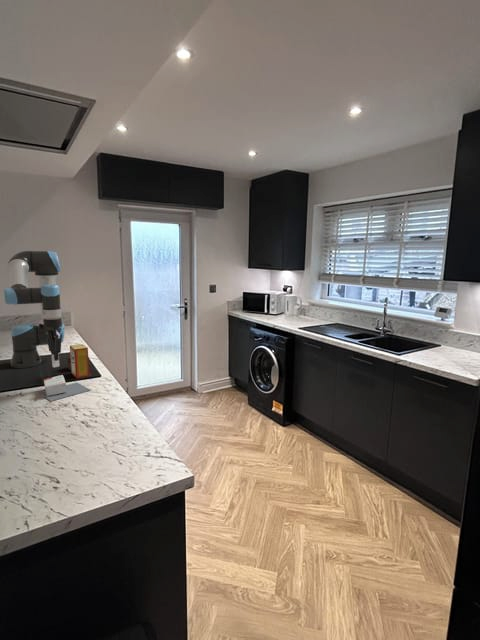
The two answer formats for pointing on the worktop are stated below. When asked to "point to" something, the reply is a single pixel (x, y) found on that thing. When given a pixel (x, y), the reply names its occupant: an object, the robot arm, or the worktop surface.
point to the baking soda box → (79, 360)
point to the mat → (71, 390)
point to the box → (69, 363)
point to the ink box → (55, 385)
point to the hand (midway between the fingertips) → (56, 366)
